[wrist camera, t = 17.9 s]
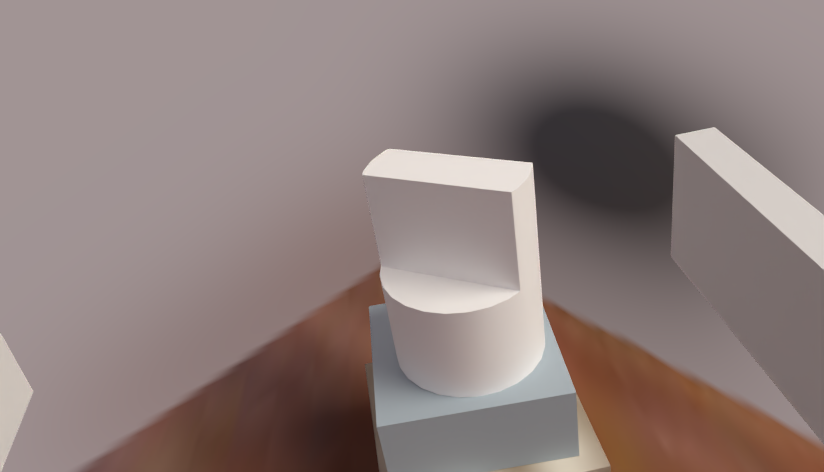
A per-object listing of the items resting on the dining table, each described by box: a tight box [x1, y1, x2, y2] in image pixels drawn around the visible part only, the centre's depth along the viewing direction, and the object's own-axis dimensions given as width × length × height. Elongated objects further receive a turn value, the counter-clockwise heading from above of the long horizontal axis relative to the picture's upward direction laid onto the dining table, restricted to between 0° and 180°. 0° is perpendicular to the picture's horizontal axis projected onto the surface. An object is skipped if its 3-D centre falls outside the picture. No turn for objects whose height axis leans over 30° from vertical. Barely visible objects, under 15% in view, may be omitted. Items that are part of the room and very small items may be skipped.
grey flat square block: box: [369, 304, 579, 472], centre depth 48 cm, size 11×11×5 cm
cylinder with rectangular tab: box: [362, 149, 545, 398], centre depth 43 cm, size 9×9×12 cm
